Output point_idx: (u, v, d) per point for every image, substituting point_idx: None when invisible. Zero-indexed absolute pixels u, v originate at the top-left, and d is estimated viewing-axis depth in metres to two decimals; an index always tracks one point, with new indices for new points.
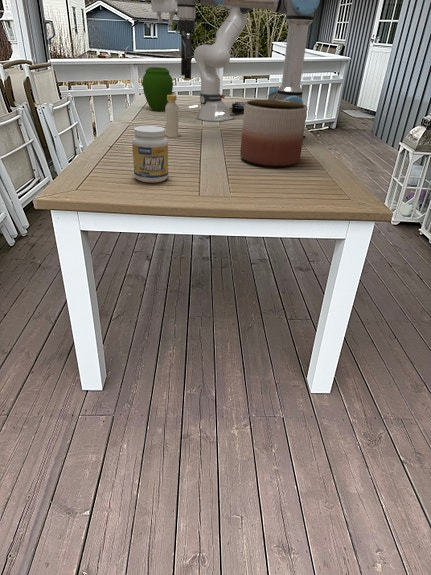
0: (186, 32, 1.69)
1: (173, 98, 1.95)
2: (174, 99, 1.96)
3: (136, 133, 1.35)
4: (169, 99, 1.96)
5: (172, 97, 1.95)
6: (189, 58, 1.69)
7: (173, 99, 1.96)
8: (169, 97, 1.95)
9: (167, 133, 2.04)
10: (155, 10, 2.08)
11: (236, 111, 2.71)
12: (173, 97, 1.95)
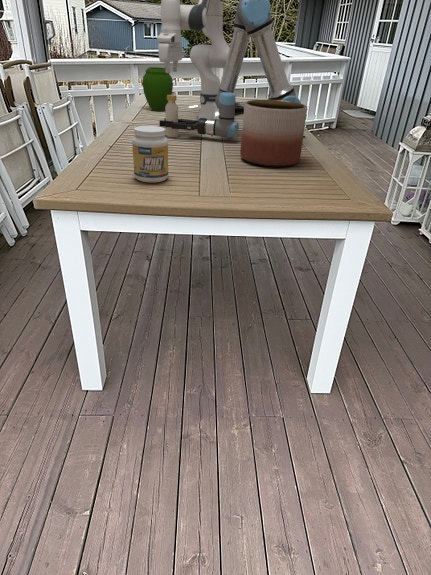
0: None
1: (173, 98, 1.95)
2: (174, 99, 1.96)
3: (136, 133, 1.35)
4: (169, 99, 1.96)
5: (172, 97, 1.95)
6: None
7: (173, 99, 1.96)
8: (169, 97, 1.95)
9: (167, 133, 2.04)
10: (169, 60, 1.83)
11: (236, 111, 2.71)
12: (173, 97, 1.95)
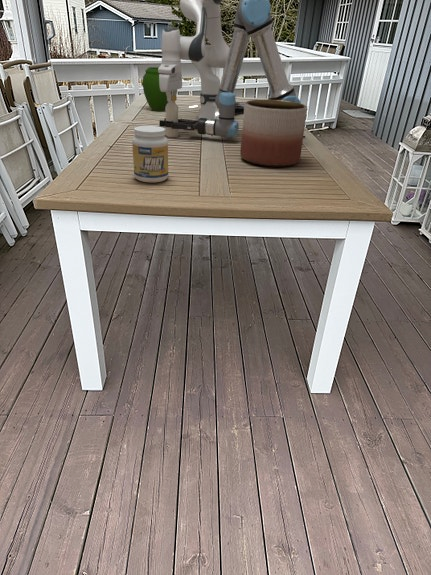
0: None
1: (173, 98, 1.95)
2: (174, 99, 1.96)
3: (136, 133, 1.35)
4: None
5: (172, 97, 1.95)
6: None
7: (173, 99, 1.96)
8: None
9: (167, 133, 2.04)
10: (170, 90, 1.89)
11: (236, 111, 2.71)
12: (173, 97, 1.95)
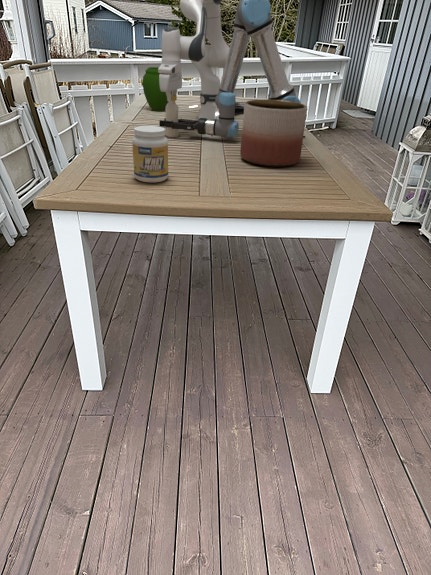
0: None
1: None
2: None
3: (136, 133, 1.35)
4: (175, 99, 1.96)
5: (176, 96, 1.97)
6: None
7: None
8: (175, 97, 1.96)
9: (167, 133, 2.04)
10: (170, 89, 1.89)
11: (236, 111, 2.71)
12: None
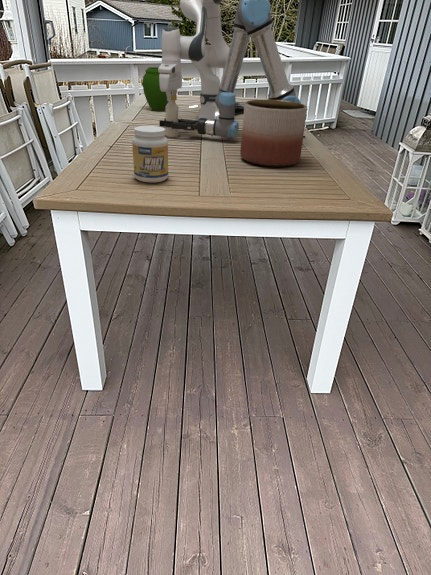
0: None
1: None
2: None
3: (136, 133, 1.35)
4: None
5: None
6: None
7: None
8: None
9: (167, 133, 2.04)
10: (170, 89, 1.89)
11: (236, 111, 2.71)
12: None
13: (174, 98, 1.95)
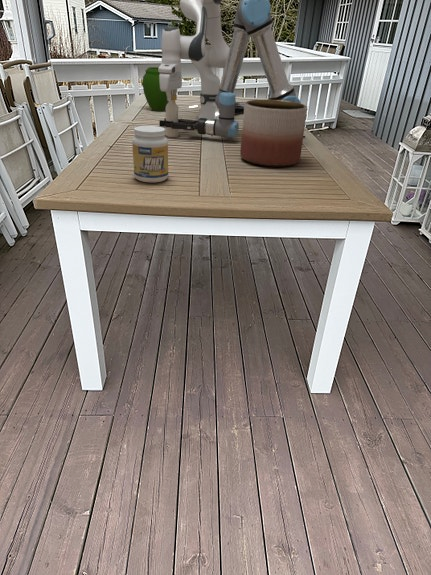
0: None
1: None
2: None
3: (136, 133, 1.35)
4: None
5: None
6: None
7: None
8: None
9: (167, 133, 2.04)
10: (170, 89, 1.89)
11: (236, 111, 2.71)
12: None
13: None
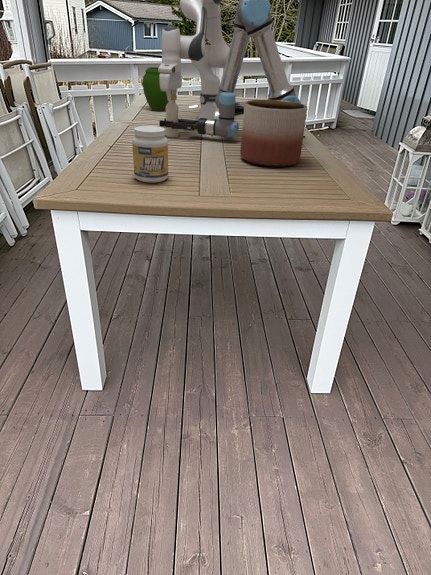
0: None
1: None
2: None
3: (136, 133, 1.35)
4: None
5: None
6: None
7: None
8: None
9: (167, 133, 2.04)
10: (170, 89, 1.89)
11: (236, 111, 2.71)
12: None
13: None
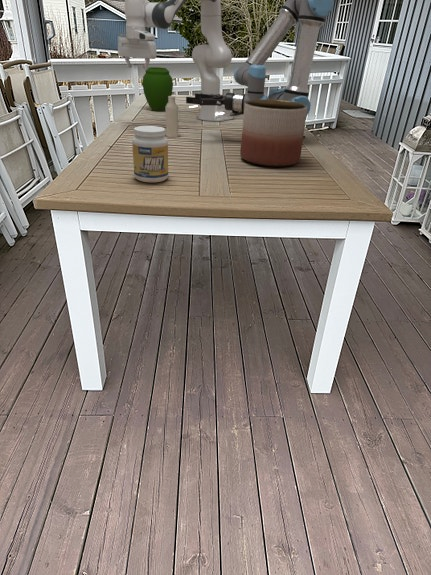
0: None
1: None
2: None
3: (136, 133, 1.35)
4: None
5: None
6: None
7: None
8: None
9: (167, 133, 2.04)
10: None
11: (236, 111, 2.71)
12: None
13: None
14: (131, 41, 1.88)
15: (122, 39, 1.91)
